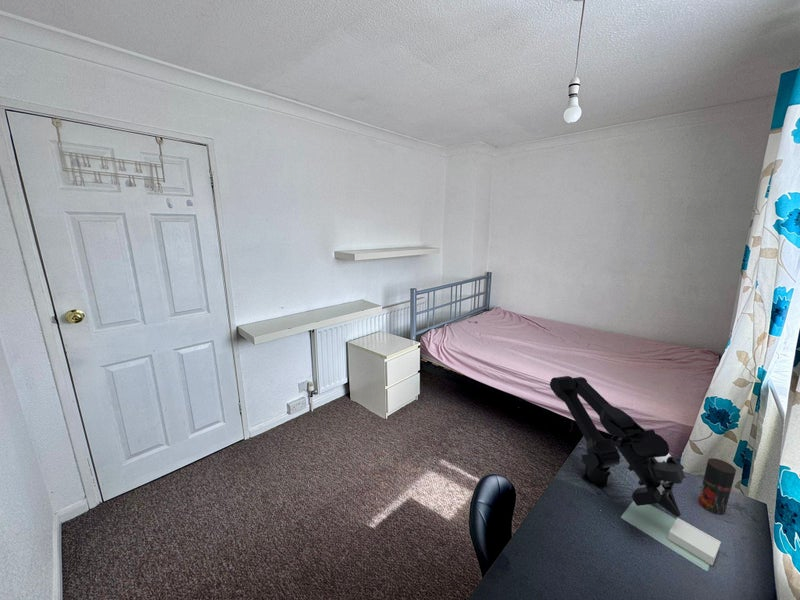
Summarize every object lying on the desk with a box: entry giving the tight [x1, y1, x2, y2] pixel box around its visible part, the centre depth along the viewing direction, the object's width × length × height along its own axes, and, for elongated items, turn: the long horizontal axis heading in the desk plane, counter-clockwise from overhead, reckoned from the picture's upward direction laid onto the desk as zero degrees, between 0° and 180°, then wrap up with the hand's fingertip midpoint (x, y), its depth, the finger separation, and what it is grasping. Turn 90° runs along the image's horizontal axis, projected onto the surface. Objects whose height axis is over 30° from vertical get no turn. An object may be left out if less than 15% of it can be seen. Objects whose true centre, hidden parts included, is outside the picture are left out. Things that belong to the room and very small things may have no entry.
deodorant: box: [697, 457, 737, 516], centre depth 96 cm, size 6×6×15 cm
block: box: [668, 517, 722, 566], centre depth 86 cm, size 3×7×9 cm
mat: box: [620, 500, 711, 572], centre depth 91 cm, size 19×12×1 cm, turn 37°
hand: (678, 516), depth 88 cm, fingers closed
